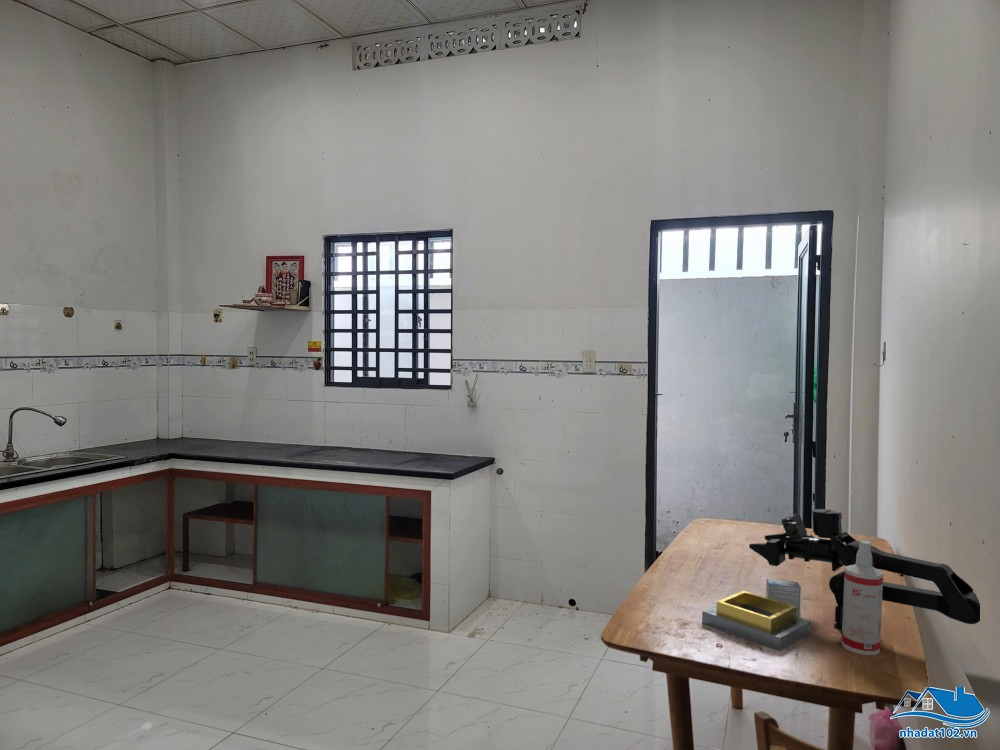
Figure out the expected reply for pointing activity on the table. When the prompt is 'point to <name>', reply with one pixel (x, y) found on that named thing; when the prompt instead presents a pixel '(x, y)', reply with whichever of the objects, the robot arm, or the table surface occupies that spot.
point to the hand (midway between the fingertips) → (757, 541)
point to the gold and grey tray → (758, 620)
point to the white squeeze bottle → (862, 604)
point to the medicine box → (784, 592)
